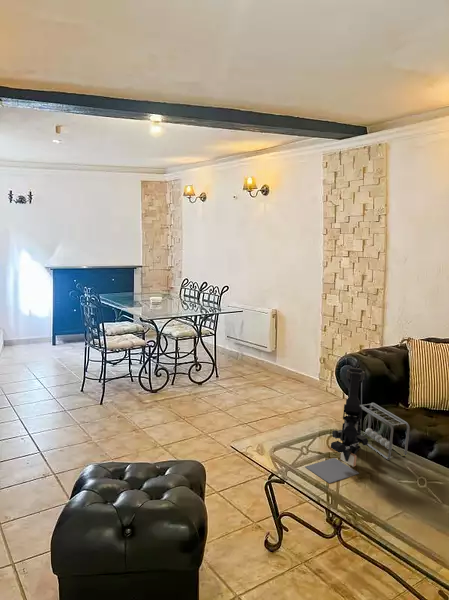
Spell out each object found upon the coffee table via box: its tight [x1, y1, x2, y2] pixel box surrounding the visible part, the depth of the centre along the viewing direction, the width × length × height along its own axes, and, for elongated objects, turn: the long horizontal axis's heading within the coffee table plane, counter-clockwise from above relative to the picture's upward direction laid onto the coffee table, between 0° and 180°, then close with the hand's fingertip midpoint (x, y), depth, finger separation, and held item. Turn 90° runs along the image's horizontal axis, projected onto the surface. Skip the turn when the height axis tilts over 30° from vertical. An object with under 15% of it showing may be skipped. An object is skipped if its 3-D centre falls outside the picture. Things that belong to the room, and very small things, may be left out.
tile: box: [340, 452, 357, 468], centre depth 240 cm, size 2×8×5 cm, turn 32°
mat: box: [304, 457, 360, 484], centre depth 232 cm, size 18×16×1 cm
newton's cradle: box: [360, 402, 411, 461], centre depth 257 cm, size 30×10×18 cm, turn 21°
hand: (348, 460), depth 240 cm, fingers closed on tile, 2 cm apart
